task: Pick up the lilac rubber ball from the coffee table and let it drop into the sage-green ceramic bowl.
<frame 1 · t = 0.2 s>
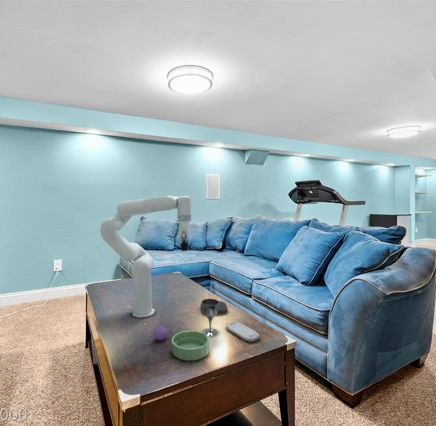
hand: (184, 249, 150), 37 cm above the table, tool pointing down, fingers open, 9 cm apart
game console: (242, 334, 128), on the table
ball: (160, 339, 123), on the table
media streaming box: (213, 310, 157), on the table
bowl: (190, 350, 114), on the table
wine glass: (210, 332, 130), on the table
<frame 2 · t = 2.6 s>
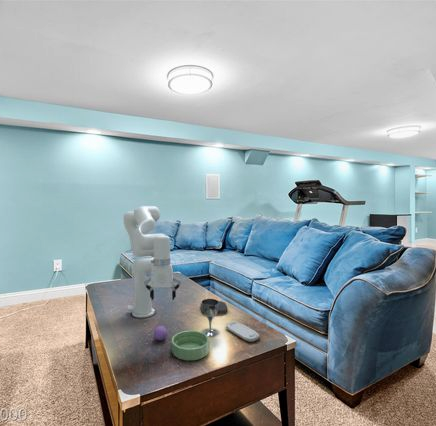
hand: (163, 299, 125), 18 cm above the table, tool pointing down, fingers open, 9 cm apart
nothing on the table moved.
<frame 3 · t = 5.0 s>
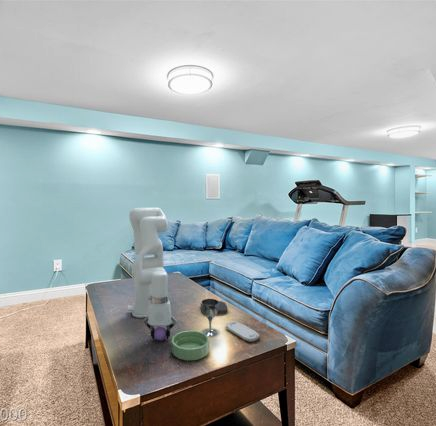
hand: (160, 337, 123), 1 cm above the table, tool pointing down, fingers closed on ball, 5 cm apart
ball: (160, 339, 123), on the table, touching gripper
everything else where it was.
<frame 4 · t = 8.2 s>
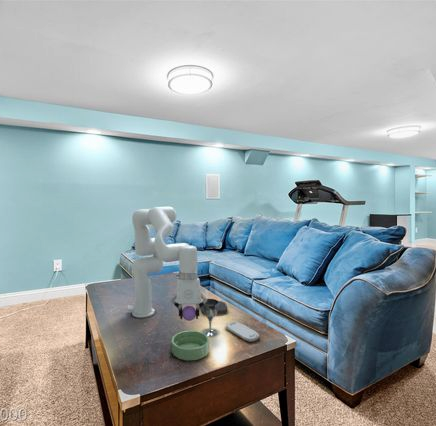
hand: (189, 317, 114), 14 cm above the table, tool pointing down, fingers closed on ball, 5 cm apart
ball: (189, 320, 114), point 13 cm above the table, touching gripper
everything else where it was.
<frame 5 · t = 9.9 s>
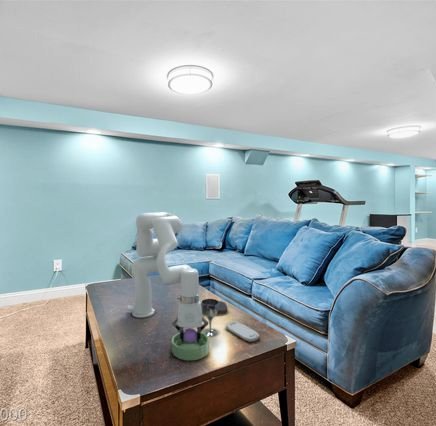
hand: (190, 340, 114), 5 cm above the table, tool pointing down, fingers closed on ball, 5 cm apart
ball: (190, 342, 114), point 4 cm above the table, touching gripper
everything else where it was.
when the fingers open (2 cm above the table, at t = 11.3 s): ball stays where it is, resting on bowl.
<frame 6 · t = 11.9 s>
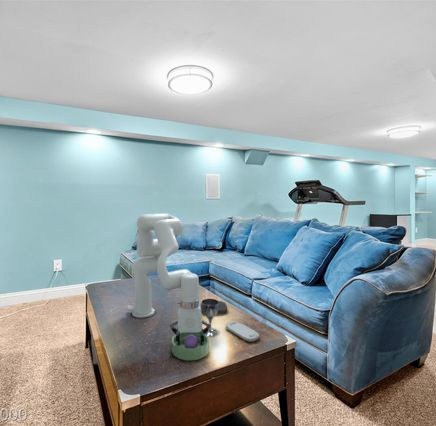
hand: (190, 343, 114), 3 cm above the table, tool pointing down, fingers open, 9 cm apart
ball: (190, 349, 114), point 1 cm above the table, tilted 5°, touching bowl
everything else where it was.
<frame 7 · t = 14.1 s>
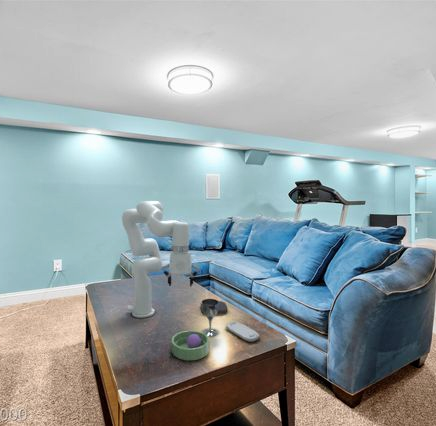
hand: (180, 285, 125), 24 cm above the table, tool pointing down, fingers open, 9 cm apart
ball: (190, 348, 114), point 1 cm above the table, tilted 30°, touching bowl
everything else where it was.
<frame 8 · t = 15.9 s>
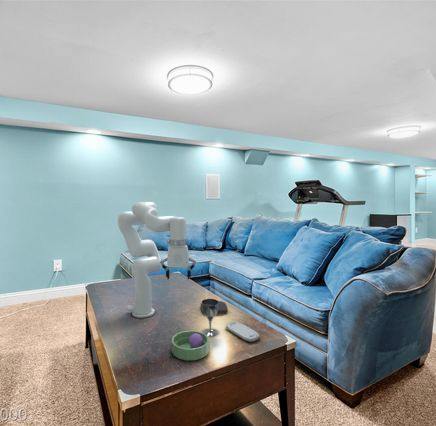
hand: (178, 278, 129), 26 cm above the table, tool pointing down, fingers open, 9 cm apart
ball: (191, 346, 114), point 2 cm above the table, tilted 50°, touching bowl
everything else where it was.
at the end: ball inside the target area in the bowl (0.3 cm from its centre), point 1.7 cm above the bowl's base; the gripper is holding nothing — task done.
